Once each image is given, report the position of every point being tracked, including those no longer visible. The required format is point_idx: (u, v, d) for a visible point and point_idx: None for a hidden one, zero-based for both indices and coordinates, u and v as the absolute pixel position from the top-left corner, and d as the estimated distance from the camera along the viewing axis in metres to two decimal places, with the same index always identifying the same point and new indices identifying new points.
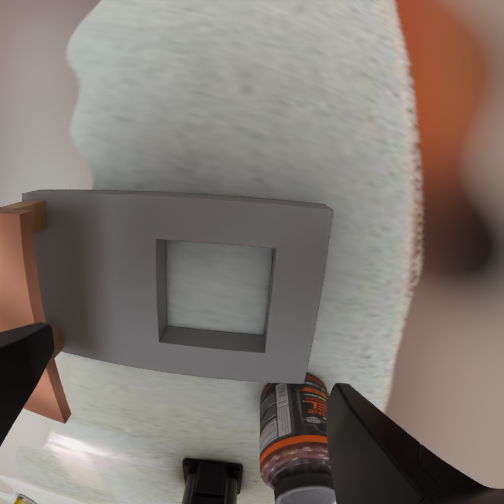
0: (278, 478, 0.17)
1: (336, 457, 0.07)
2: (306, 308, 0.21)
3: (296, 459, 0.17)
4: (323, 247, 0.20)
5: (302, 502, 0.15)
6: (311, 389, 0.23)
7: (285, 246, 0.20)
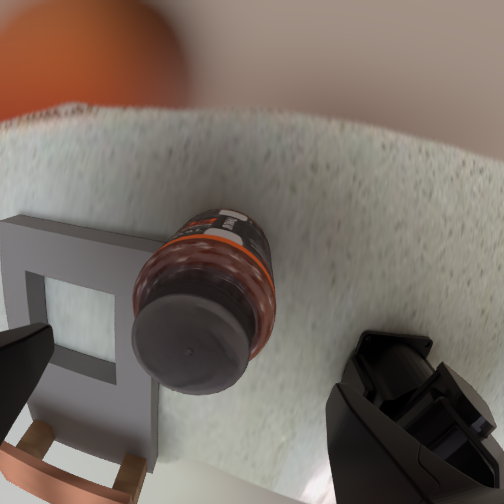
0: None
1: (336, 457, 0.07)
2: (66, 248, 0.18)
3: None
4: (20, 230, 0.18)
5: (185, 359, 0.10)
6: None
7: (22, 262, 0.18)
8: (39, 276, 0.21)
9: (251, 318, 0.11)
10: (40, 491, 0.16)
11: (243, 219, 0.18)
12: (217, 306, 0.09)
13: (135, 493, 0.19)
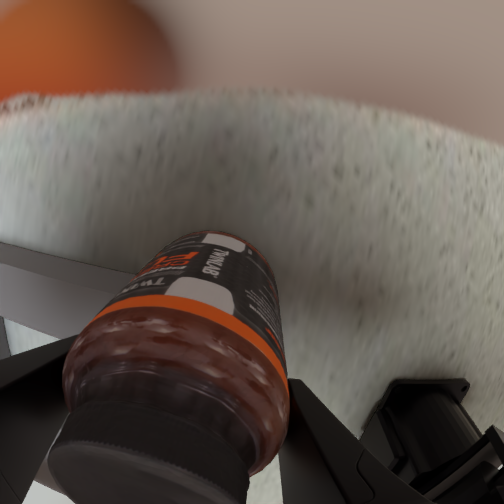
0: None
1: (283, 455, 0.07)
2: (13, 281, 0.13)
3: None
4: None
5: None
6: None
7: None
8: None
9: (248, 448, 0.06)
10: None
11: (239, 249, 0.12)
12: (179, 473, 0.04)
13: None
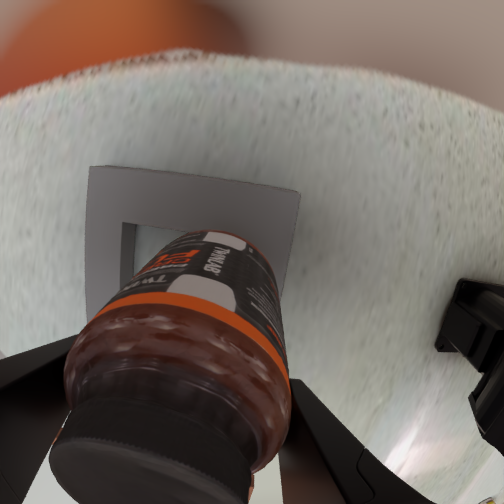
0: None
1: (283, 455, 0.07)
2: (187, 191, 0.18)
3: None
4: (122, 174, 0.18)
5: None
6: None
7: (120, 213, 0.18)
8: (132, 233, 0.21)
9: (250, 445, 0.06)
10: None
11: (239, 247, 0.12)
12: (182, 469, 0.04)
13: None
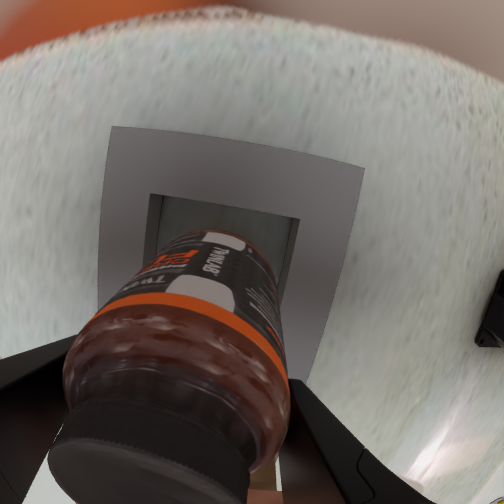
0: None
1: (284, 455, 0.07)
2: (234, 157, 0.15)
3: None
4: (153, 135, 0.15)
5: None
6: None
7: (148, 182, 0.15)
8: (157, 210, 0.18)
9: (249, 446, 0.06)
10: None
11: (239, 247, 0.12)
12: (179, 470, 0.04)
13: None
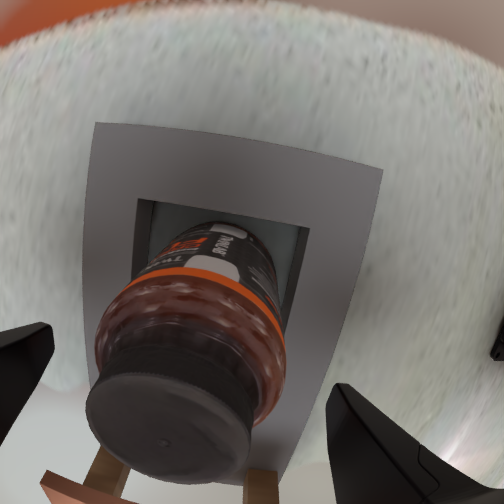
0: None
1: (336, 457, 0.07)
2: (234, 156, 0.13)
3: None
4: (141, 132, 0.13)
5: (161, 449, 0.06)
6: None
7: (135, 185, 0.13)
8: (148, 216, 0.16)
9: (252, 389, 0.08)
10: None
11: (241, 236, 0.14)
12: (199, 393, 0.06)
13: None
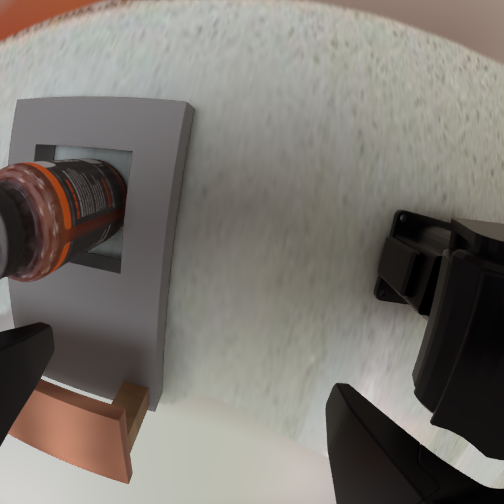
0: None
1: (336, 457, 0.07)
2: (87, 109, 0.16)
3: None
4: (39, 102, 0.16)
5: None
6: None
7: (35, 136, 0.17)
8: (48, 160, 0.19)
9: (28, 218, 0.11)
10: (14, 423, 0.14)
11: (91, 162, 0.17)
12: None
13: (132, 426, 0.18)
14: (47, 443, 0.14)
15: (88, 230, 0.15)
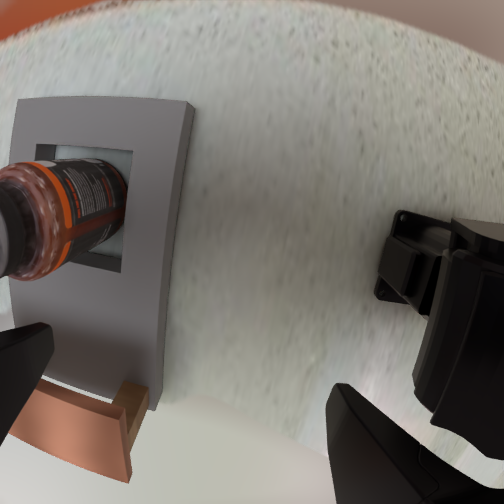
0: None
1: (336, 457, 0.07)
2: (87, 108, 0.16)
3: None
4: (40, 102, 0.16)
5: None
6: None
7: (35, 136, 0.17)
8: (49, 159, 0.19)
9: (29, 218, 0.11)
10: (14, 422, 0.14)
11: (92, 162, 0.17)
12: None
13: (132, 425, 0.18)
14: (47, 442, 0.14)
15: (88, 229, 0.15)
